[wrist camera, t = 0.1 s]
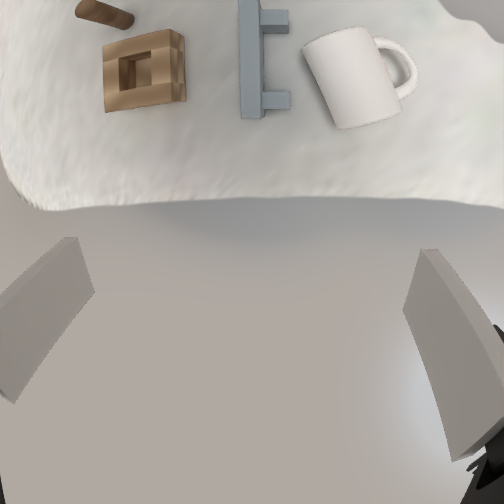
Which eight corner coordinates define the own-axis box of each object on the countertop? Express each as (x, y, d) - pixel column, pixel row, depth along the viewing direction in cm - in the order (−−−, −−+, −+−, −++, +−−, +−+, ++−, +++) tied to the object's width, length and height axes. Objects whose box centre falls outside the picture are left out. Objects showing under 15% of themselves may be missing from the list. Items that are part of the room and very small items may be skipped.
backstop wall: (246, 13, 26) (238, -3, 21) (287, 12, 26) (287, -4, 20) (248, 116, 33) (240, 118, 28) (289, 116, 32) (290, 119, 27)
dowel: (118, 16, 26) (75, 2, 18) (134, 11, 26) (93, -6, 17) (118, 31, 28) (74, 21, 19) (134, 27, 27) (92, 13, 19)
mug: (332, 126, 32) (344, 133, 25) (299, 54, 28) (302, 41, 21) (414, 100, 29) (444, 103, 22) (385, 30, 25) (408, 15, 18)
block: (122, 50, 29) (102, 46, 25) (184, 36, 28) (169, 28, 24) (124, 110, 33) (105, 112, 29) (185, 100, 32) (171, 101, 28)
